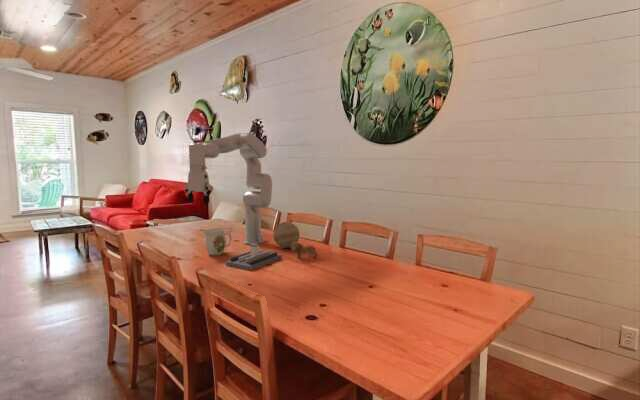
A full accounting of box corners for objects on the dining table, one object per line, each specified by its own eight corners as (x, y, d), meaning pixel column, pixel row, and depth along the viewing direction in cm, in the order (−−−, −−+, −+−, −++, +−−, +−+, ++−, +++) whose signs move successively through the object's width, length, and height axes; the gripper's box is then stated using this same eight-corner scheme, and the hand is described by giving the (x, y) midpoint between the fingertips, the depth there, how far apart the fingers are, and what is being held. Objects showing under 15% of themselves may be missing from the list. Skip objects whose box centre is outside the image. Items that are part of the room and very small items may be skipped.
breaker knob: (254, 256, 195) (253, 243, 194) (259, 257, 194) (258, 243, 193) (250, 257, 192) (249, 244, 192) (254, 258, 191) (254, 245, 190)
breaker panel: (257, 254, 208) (257, 247, 207) (281, 258, 199) (281, 250, 199) (226, 265, 187) (225, 257, 187) (251, 270, 179) (250, 262, 178)
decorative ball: (287, 252, 212) (287, 225, 210) (268, 248, 221) (267, 222, 219) (304, 246, 224) (304, 221, 222) (285, 243, 233) (285, 219, 231)
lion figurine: (292, 260, 195) (292, 243, 194) (290, 258, 200) (289, 241, 199) (319, 258, 200) (319, 241, 199) (316, 255, 205) (316, 239, 204)
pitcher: (237, 252, 212) (236, 227, 210) (207, 258, 199) (206, 232, 197) (226, 248, 219) (225, 225, 218) (197, 254, 206) (196, 229, 205)
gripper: (216, 168, 190) (217, 202, 192) (188, 168, 196) (190, 201, 198) (206, 169, 183) (208, 204, 185) (178, 168, 189) (179, 202, 191)
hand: (198, 202), depth 191 cm, fingers open, 9 cm apart
